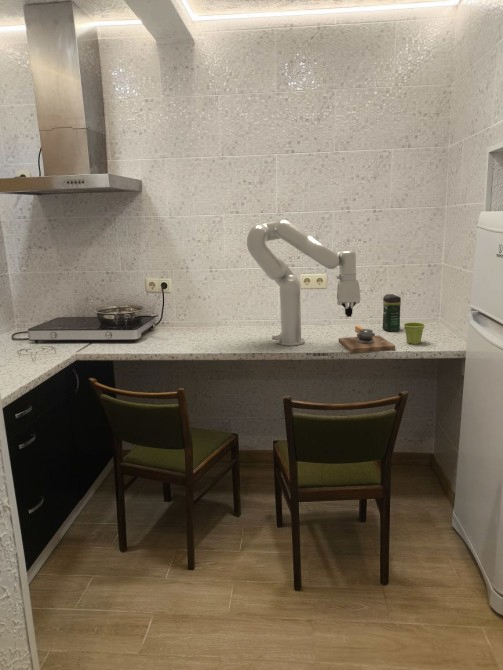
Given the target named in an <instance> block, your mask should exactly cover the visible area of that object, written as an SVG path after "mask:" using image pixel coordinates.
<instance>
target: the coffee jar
mask: <svg viewBox="0 0 503 670" xmlns="http://www.w3.org/2000/svg"><path fill="white" fill-rule="evenodd" d="M382 304H383V308H382V309H383V311H382V329H383V330H384V331H386V332H393V333H394V332H398V331H400V330H401V304H402V301H401V297H400V296H398V295H395V294H394V293H390V294H389V293H387V294H385V295H384V296H383V299H382Z"/></svg>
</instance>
